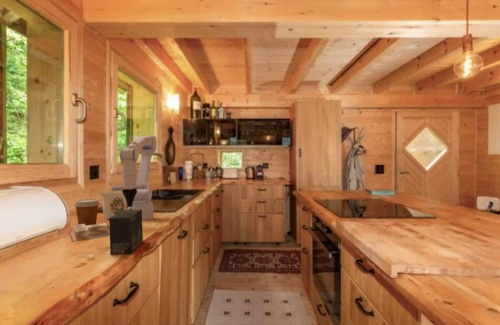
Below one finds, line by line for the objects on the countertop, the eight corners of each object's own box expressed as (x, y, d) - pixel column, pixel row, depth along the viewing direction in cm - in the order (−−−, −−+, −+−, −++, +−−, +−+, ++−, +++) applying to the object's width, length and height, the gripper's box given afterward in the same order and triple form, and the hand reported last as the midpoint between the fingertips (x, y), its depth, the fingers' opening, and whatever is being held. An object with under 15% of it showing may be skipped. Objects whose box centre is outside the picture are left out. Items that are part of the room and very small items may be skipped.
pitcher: (138, 216, 139) (138, 190, 139) (102, 222, 126) (101, 193, 125) (129, 213, 147) (128, 188, 146) (93, 219, 133) (93, 191, 133)
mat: (123, 225, 121) (123, 224, 121) (133, 233, 108) (133, 231, 108) (68, 233, 108) (68, 232, 108) (72, 243, 95) (72, 242, 95)
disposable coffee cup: (104, 225, 121) (104, 199, 121) (90, 230, 112) (89, 202, 111) (85, 224, 122) (84, 198, 122) (69, 230, 113) (68, 202, 112)
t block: (103, 228, 114) (103, 221, 114) (109, 234, 104) (109, 226, 104) (72, 232, 107) (72, 225, 107) (76, 239, 97) (76, 231, 97)
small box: (123, 242, 97) (123, 209, 97) (143, 241, 98) (142, 209, 98) (109, 255, 84) (108, 217, 84) (131, 254, 85) (131, 217, 85)
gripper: (113, 176, 109) (113, 209, 109) (149, 175, 118) (149, 205, 118) (109, 175, 114) (109, 207, 114) (144, 174, 123) (144, 203, 123)
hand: (129, 206), depth 116 cm, fingers closed
